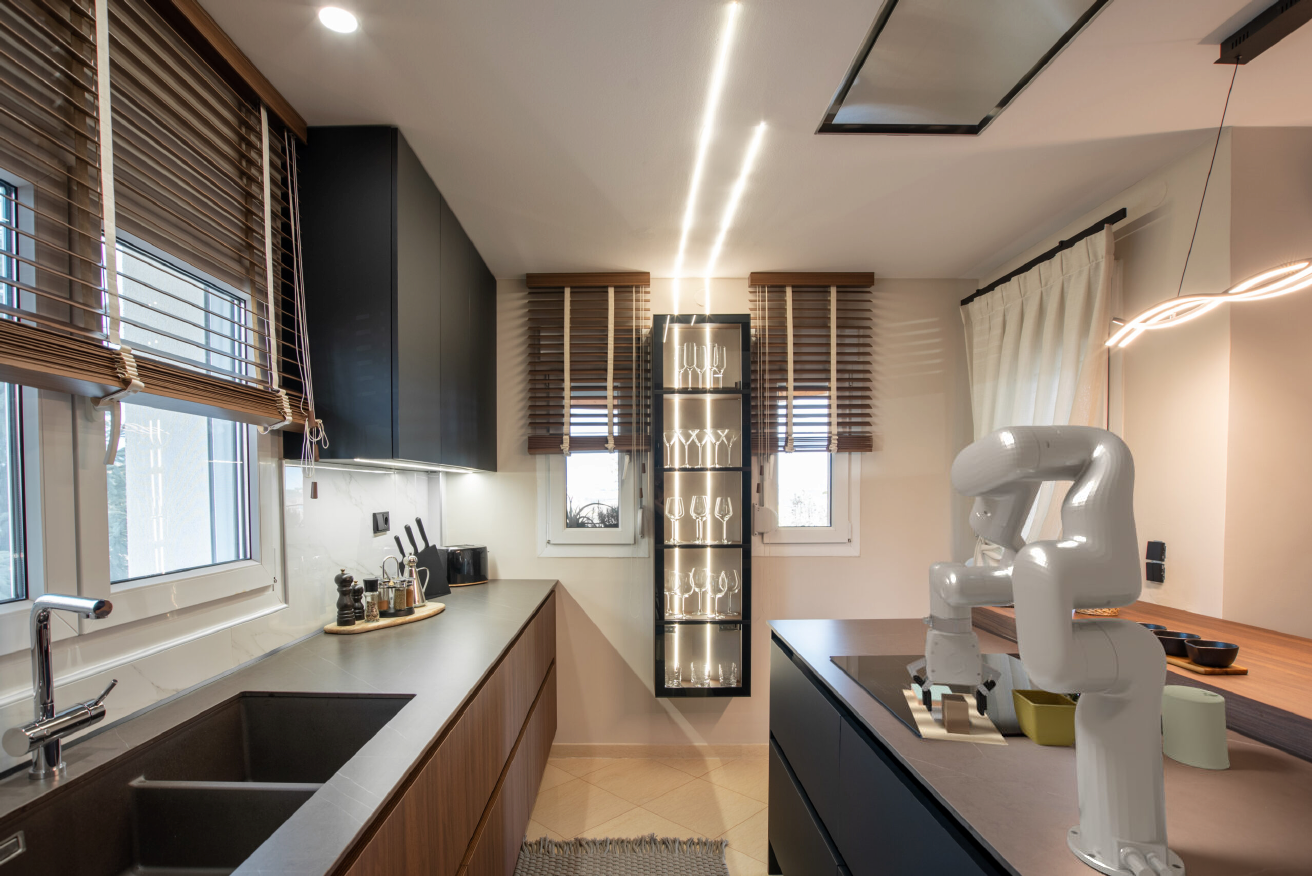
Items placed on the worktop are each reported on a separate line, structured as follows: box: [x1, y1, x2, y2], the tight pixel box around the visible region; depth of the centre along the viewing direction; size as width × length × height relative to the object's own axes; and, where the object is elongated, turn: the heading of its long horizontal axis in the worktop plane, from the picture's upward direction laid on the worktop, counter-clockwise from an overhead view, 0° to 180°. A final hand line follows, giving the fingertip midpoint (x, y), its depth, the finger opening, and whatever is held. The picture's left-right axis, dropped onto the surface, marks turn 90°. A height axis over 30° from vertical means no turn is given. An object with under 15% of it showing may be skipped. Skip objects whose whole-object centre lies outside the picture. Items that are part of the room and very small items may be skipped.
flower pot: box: [1011, 688, 1078, 747], centre depth 118 cm, size 9×9×9 cm
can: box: [1161, 684, 1231, 771], centre depth 112 cm, size 9×9×12 cm
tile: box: [910, 683, 954, 707], centre depth 139 cm, size 2×8×10 cm
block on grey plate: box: [929, 693, 972, 735], centre depth 126 cm, size 12×7×6 cm, turn 166°
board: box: [901, 688, 1009, 746], centre depth 130 cm, size 28×15×1 cm, turn 166°
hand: (954, 711), depth 123 cm, fingers open, 9 cm apart
